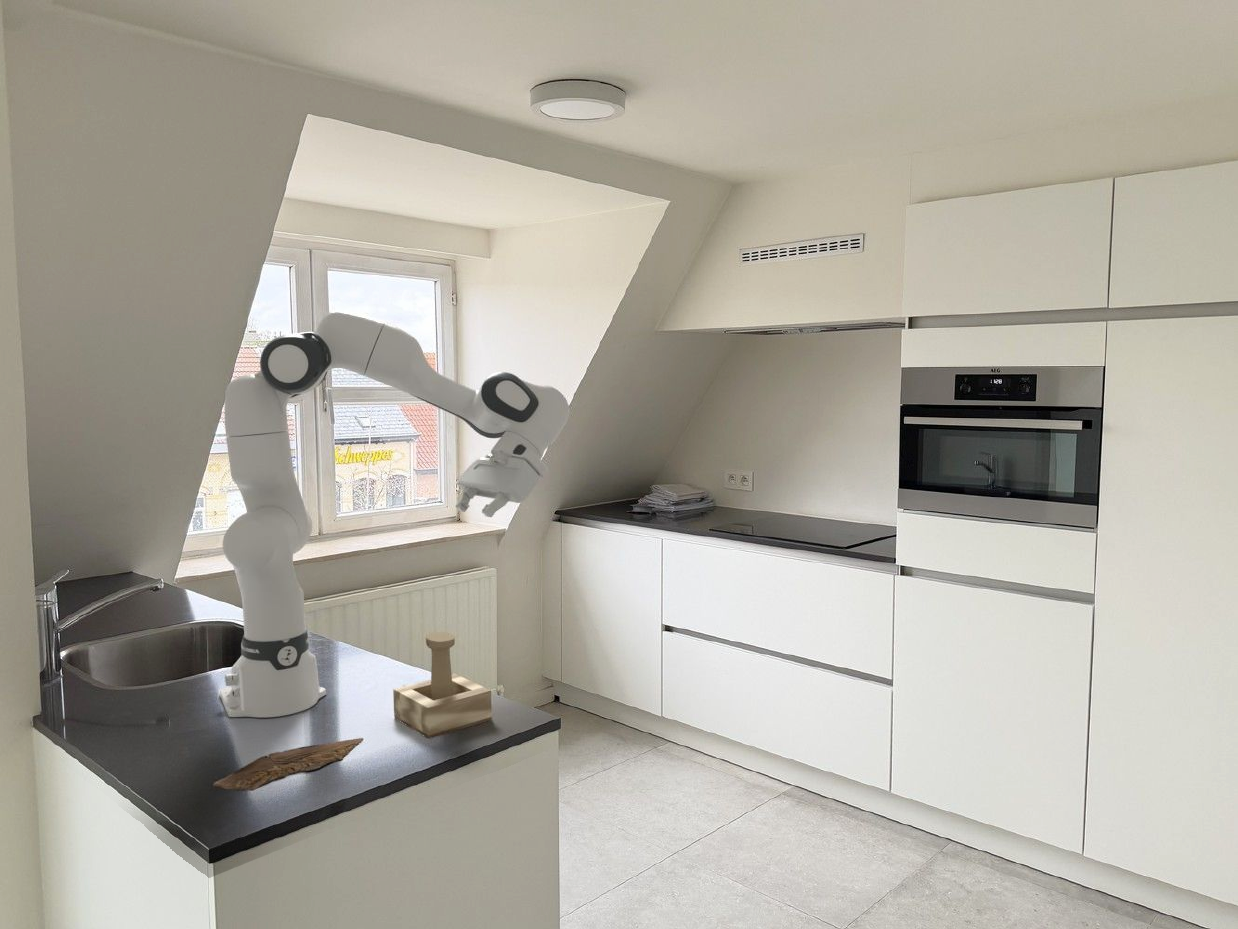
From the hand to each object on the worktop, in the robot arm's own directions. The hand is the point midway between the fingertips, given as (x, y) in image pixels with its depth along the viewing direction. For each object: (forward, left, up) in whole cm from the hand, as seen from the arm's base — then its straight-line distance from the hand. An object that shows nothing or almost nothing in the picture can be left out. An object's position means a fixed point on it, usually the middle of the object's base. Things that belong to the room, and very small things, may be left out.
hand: (472, 512), depth 176 cm
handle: (+3, -9, -37) cm, 38 cm away
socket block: (+3, -9, -37) cm, 39 cm away
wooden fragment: (+3, -37, -38) cm, 53 cm away
